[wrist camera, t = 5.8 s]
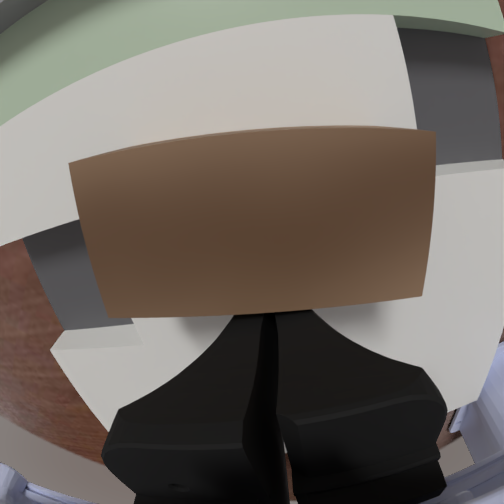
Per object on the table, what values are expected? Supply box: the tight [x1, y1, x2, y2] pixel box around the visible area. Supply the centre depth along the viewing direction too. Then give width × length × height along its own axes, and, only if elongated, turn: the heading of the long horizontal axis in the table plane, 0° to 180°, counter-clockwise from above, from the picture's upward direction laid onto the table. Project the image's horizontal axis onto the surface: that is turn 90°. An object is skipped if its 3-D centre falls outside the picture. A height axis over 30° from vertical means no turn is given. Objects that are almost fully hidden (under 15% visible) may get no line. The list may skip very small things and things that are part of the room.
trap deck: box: [0, 0, 504, 453], centre depth 11 cm, size 27×24×4 cm
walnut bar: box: [68, 125, 436, 318], centre depth 8 cm, size 4×8×4 cm, turn 95°
